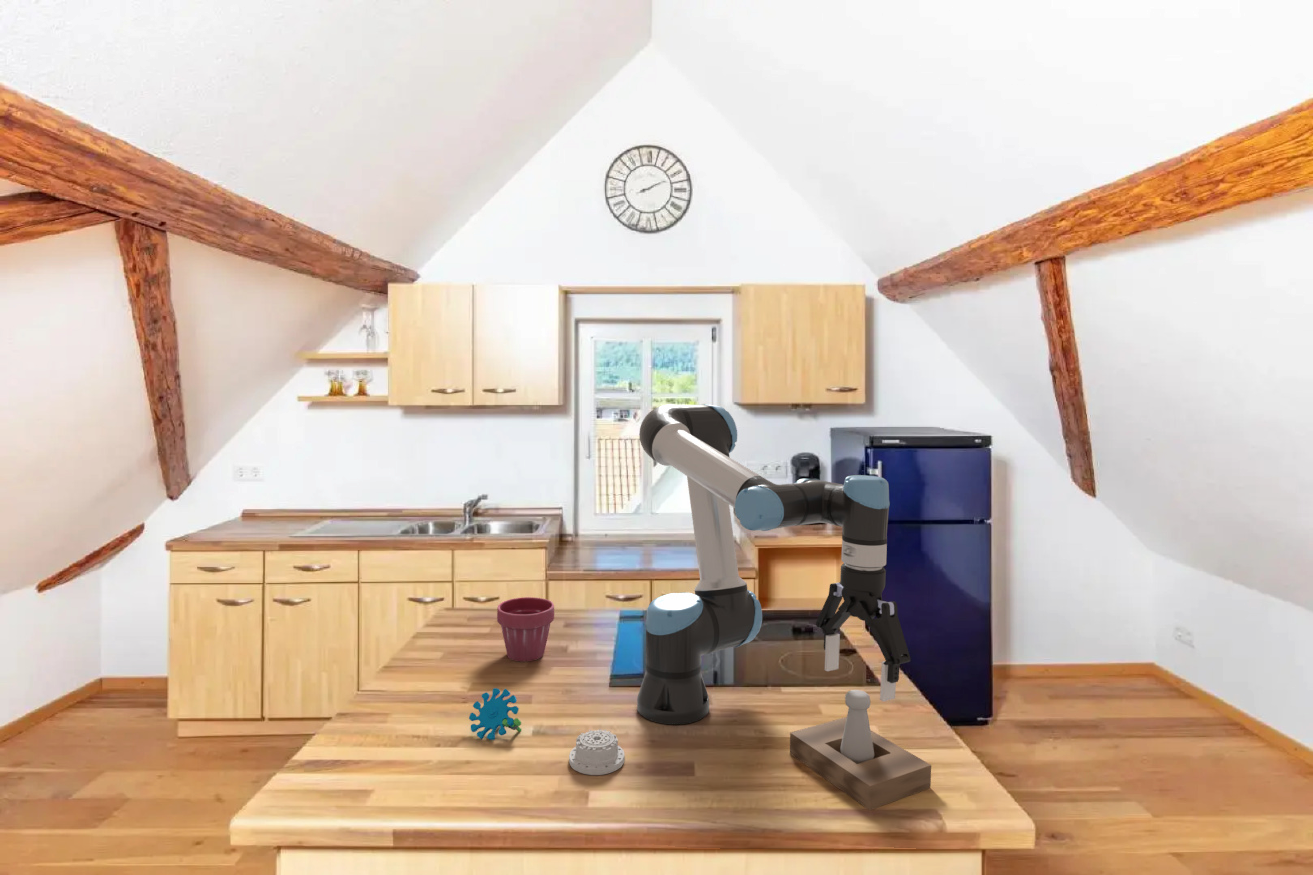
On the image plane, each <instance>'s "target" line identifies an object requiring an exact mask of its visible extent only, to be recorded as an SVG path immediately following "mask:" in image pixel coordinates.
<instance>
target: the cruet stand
mask: <svg viewBox="0 0 1313 875" xmlns="http://www.w3.org/2000/svg"><path fill="white" fill-rule="evenodd" d="M846 719H847V716H845V717H841V718H838V719H835V720H831V721H827V722H826V721H825V722H822V723H821V724H816V725H812V726H809V727H806V728H805V727H804V728H802V729H798V730H796V731H795V730H794V731H791V732H789V755H790V756H791V755H792V757H793V758H795V759H796V760H798V761H800V762H801V763H802V764H804V765H805V766H806V767H808V768H810V769H811V770H812V771H813V772H815V773H816V774H817V775H819V776H821V777H822V778H823V779H825V780H826V781H828V783H831V784H832V785H833V786H835V787H836V788H838V789H839V790H840V791H842V792H843V793H844V794H846V795H848V796H849V797H850V798H852V799H853V800H854V801H856V802H857V803H859V804H860V805H862V806H863V807H864V808H865V809H867V810H868V811H872V810H874V809H877V808H880V807H882V806H885V805H888V804H890V803H893V802H896V801H899V800H901V799H904V798H906V797H910V796H912V795H915V794H917V793H920V792H923V791H926V790H928V789H930V788H931V787H932V786H931V783H932V782H931V781H932V780H931V778H932V764H930V763H928V762H927V761H925V760H924V759H922V758H920V757H918V756H916V755H915V754H913V753H911V752H909V751H908V750H906V749H904V748H902V747H901V746H899V745H897V744H896V743H894V742H892V741H891V740H889V739H887V738H885V737H884V736H881V735H880V734H878V733H876V732H875V731H873V730H871V729H870V731H871V737H872V743H873V749H874V758H873V759H872V760H868V761H865V762H862V763H859V764H856V763H855V762H853V761H852V760H850V759H848V758H847V757H845V756H844V755H842V754H841V749H840V747H841V743H842V738H843V733H844V729H845V724H846Z"/></svg>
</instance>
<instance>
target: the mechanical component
mask: <svg viewBox="0 0 1313 875" xmlns="http://www.w3.org/2000/svg"><path fill="white" fill-rule="evenodd" d="M618 743H619V739H618V737H617V734H613V733H612V732H611V731H610V730H606V729H603V730H602V729H601V728H600V729H599V728H598V730H592V729H589V730H588V731H586V732H585V733H584V732H581V733H580V734H579V735H577V737H576V740H575V746H574V747H573V748H572V749H571V750H570V752H569V756H568V761H569V765H570V767H571V769H573V770H574V771H576V772H578V773H579V774H584V775H589V776H603V775H607V774H611V773H614V772H615V771H617V770H619V769H620V768H621V767H622V766H623V765H624V764H625V760H626V759H625V758H626V757H625V751H624V748H622V747H621V746H620V745H618Z"/></svg>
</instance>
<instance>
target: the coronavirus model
mask: <svg viewBox="0 0 1313 875" xmlns="http://www.w3.org/2000/svg"><path fill="white" fill-rule="evenodd" d="M498 695H499V696H498ZM510 695H511V692H510V691H509V689H507V688H504V689H503V690H502V693H501V690H500V689H499V688H497V687H494V688H492V694H491V697H490V694H489V692H488V691H487V692H484V693H482V694H481V698H482V699H483V706H482V704H481V702H479V701H478V700H477V701H475V702H474V703H473V704H472V707H473V708H474V709H475V710H478V712H479V714H478V715H476V714H475V713H474V712H471V713H470V714H469V717H468V719H469V721H471V722H474V721H479V724H475V723H472V724H470V731H471V732H472V733H476V732H477V733H476V736H477V738H478V739H480V740H483V739H484V738H485V736H486V739H488V740H490V741H495V738H496V732H497V734H498V735H499V736H504V735H506V734H507V730H506V728H508V729H510V730H513V731H515V730H516V731H517V732H518V733H521V732H522V728H521V727H520V726H521V725H522V721H521V720H520V719H519V718H518V717H515V718H513V717H510V716H509V712H511V713H513V714H514V715H518V713H519V710H520V708H519V707H518V706H516V705H513V706H508V704H510V703H511V704H515V703H517V697H516V695H514V694H512V695H511V696H510ZM497 696H498V697H497ZM509 696H510V697H509ZM506 697H509V698H507V699H504V698H506ZM489 698H490V699H489ZM481 728H484V729H483V730H480V729H481ZM497 729H498V731H497ZM478 730H479V731H478ZM490 730H491V731H490ZM489 731H490V732H489ZM488 732H489V733H488ZM486 734H487V735H486Z"/></svg>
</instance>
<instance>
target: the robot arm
mask: <svg viewBox="0 0 1313 875" xmlns="http://www.w3.org/2000/svg"><path fill="white" fill-rule="evenodd" d="M638 437H639V442H640V445H641V447H642V449H643V450H644V452H645V453H646V454H647V456H649V457H650V458H651V459H652V460H653V461H655V462H656V463H658V464H660V465H662V466H665V467H668V466H669V467H670V466H671V467H672V468H674V469H676V470H677V471H679V472H680V473H681V474H684V475H685V476H686V479H687V485H688V487H687V488H688V494H689V501H690V502H689V503H690V509H691V518H692V525H693V536H694V540H695V548H696V556H697V557H696V558H697V566H698V573H699V582H698V583H697V584H696V586H695V588H694V593H692V592H678V593H677V592H672V593H671V592H670V593H667V594H663V595H661V596H658V597H655V598H654V599H653V600H652V601H651V602H650V603H649V604H648V606H647V610H646V618H645V623H644V625H645V626H644V627H645V673H644V676H643V679H642V681H641V684H640V688H639V691H638V693H637V699H636V701H637V702H636V703H637V704H636V710H637V713H639V715H640V716H641V717H643V718H644V719H646V720H649V721H651V722H653V723H657V724H665V725H685V724H691V723H694V722H695V723H696V722H698V721H700V720H702V719H703V718H705V717H706V716H707V715H708V714H709V712H710V711H709V710H710V698H709V694H708V691H707V688H706V684H705V682H704V681H705V680H704V677H703V675H702V656H704V655H708V654H711V653H715V652H719V651H723V650H727V649H732V648H739V647H741V646H742V645H745V644H749V643H750V642H752V641H753V640H754V639H755V638H756V637H757V635H758V634H759V633H760V630H761V627H762V622H763V610H762V605H761V603H760V600H759V599H757V596H756V594H755V593H754V592H753V591H751V590H749V589H748V584H747V581H745V580H744V579H743V578H741V577H740V575H739V569H738V561H737V560H738V559H737V554H736V546H735V539H734V531H733V524H732V516H731V508H730V506H731V507H732V508H733V509H734V512H735V516H736V518H737V520H739V524H740V525H741V526H742V527H743V528H744V529H747V531H752V532H753V531H763V532H767V531H771V530H777V529H781V528H789V527H794V526H795V527H797V526H803V525H811V524H819V523H823V524H829V525H832V526H837V527H841V530H842V531H841V534H842V535H841V539H842V540H841V562H842V563H843V564H842V565H841V566H840V577H839V580H840V582H839V581H838V582H833V583H830V584H829V589H828V595H827V597H826V600H825V602H824V604H823V607H822V608H821V610H820V613H819V616H817V619H816V621H815V625H816V627H817V629H818V628H820V629H821V630H822V634H823V649H824V650H823V651H824V671H826V672H830V671H836V670H839V668H840V667H839V666H840V665H839V663H840V642H841V640H840V636H841V634H840V633H839V632H840V630H839V629H840V628H841V627H842V626H843V625H844V623H845V622H846V621H847V620H848V619H849V618H850V617H853V618H857V619H859V620H861V621H863V622H865V625H866V626H868V628H870V630H871V632H872V634H873V636H874V639H875V641H876V643H877V645H878V648H879V649H880V651H881V653H882V656H883V658H884V659H885V660H884V661H881V670H880V672H881V673H880V694H879V696H880V697H879V700H880V701H882V702H887V701H890V700H894V699H896V690H897V689H896V686H897V685H896V684H897V683H898V682H899V679H900V665H901V664H907V663H909V662H911V656H910V652H909V649H908V645H907V642H906V638H905V636H904V632H903V629H902V628H903V627H902V625H901V623H900V619H899V615H898V603H897V602H896V601H885V600H883V596H882V594H883V591H884V589H885V588H886V577H887V576H886V573H887V570H886V569H885V566H886V565H887V554H888V553H887V552H888V551H887V548H888V547H887V546H888V535H887V534H888V525H889V524H888V523H889V511H890V504H891V502H890V489H889V488H890V487H889V481H887V479H885V478H884V477H881V476H876V475H865V474H862V475H861V474H855V475H854V474H853V475H848V476H846V477H845V479H844V483H843V484H842V483H838V482H837V483H836V482H831V481H826V480H821V479H819V478H800V479H798V480H796V481H795V482H794V483H784V484H783V483H782V484H777V483H774V482H772V481H770V480H768V479H766V478H765V477H763V476H761V475H759V474H758V473H756V472H755V471H753V470H751V469H750V468H747V467H746V466H744V465H743V464H741V463H740V462H738V461H736V460H734V459H733V458H731V457H730V453H732V452H733V451H734V449H735V447H736V443H737V441H738V429H737V424H736V422H735V420H734V418H733V416H732V414H731V413H730V412H729V411H728V410H726V409H725V408H724V407H722V406H719V405H713V404H707V403H702V404H665V405H660V406H658V407H656V408H654V409H652V410H651V411H649V412H648V413H647V414H646V415H645V417H644V418H643V419H642V422H641V423H640V428H639V436H638ZM842 600H843V602H842V603H841V601H842ZM840 604H841V605H840ZM839 605H840V606H839ZM875 617H876V618H875Z"/></svg>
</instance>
